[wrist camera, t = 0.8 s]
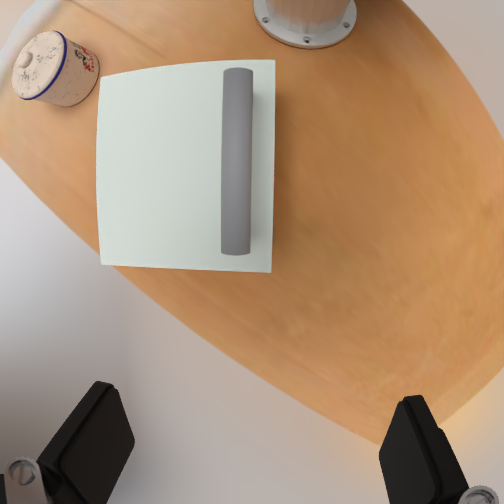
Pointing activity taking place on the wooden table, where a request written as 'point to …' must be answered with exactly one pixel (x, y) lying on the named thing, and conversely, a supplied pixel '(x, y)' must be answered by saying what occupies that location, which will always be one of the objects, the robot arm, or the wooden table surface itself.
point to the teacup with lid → (54, 70)
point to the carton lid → (187, 166)
